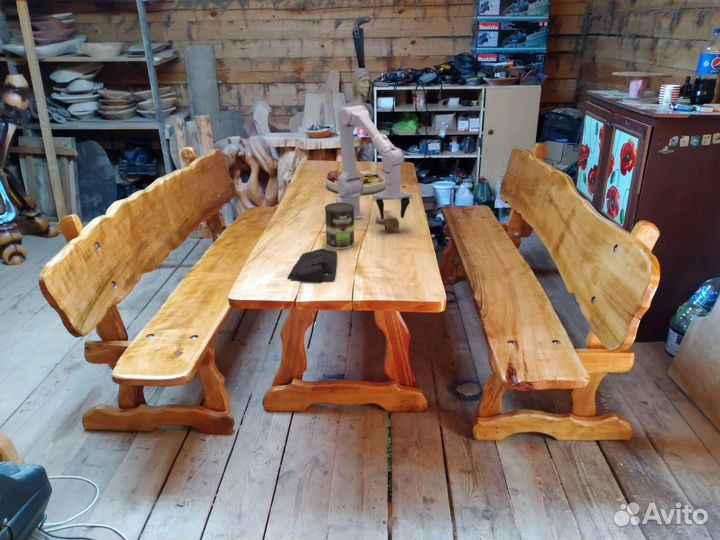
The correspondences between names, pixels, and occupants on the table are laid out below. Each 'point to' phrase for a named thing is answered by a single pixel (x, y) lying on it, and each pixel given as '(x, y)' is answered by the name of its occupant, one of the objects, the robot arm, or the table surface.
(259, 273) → the table surface
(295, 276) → the dark slate chunk
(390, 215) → the birch round
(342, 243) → the coffee can
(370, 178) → the bowl
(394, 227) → the walnut cube
